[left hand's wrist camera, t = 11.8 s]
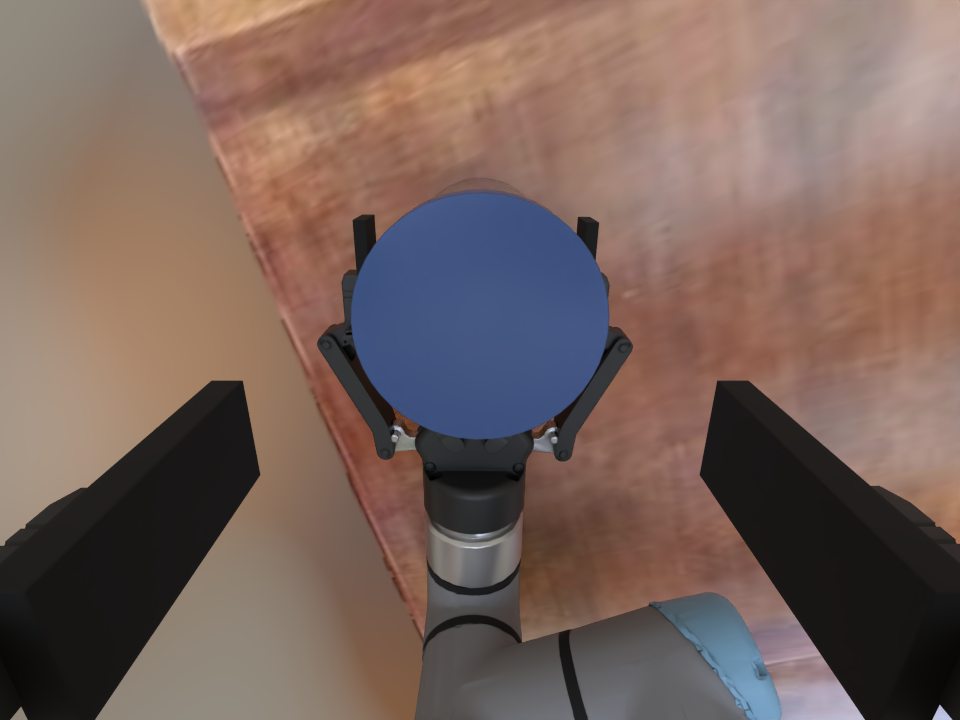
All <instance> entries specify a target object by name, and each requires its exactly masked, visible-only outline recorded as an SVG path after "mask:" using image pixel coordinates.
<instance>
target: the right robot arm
mask: <svg viewBox="0 0 960 720" xmlns="http://www.w3.org/2000/svg"><path fill="white" fill-rule="evenodd" d="M598 228H599V222H597V221H596V220H594V219H592V218H591V217H578V224H577V235H578V236H579V237H580V238H581V240H582V241H583V242H584V244H585V245H586V247H587V248H588V249H589V251H590V252H591V254H592V255H593V257H594V259H595V260H596V249H597V238H598ZM353 230H354V243H355V255H356V268H357V270H349V271H348V272H346V273H345V274H344V277H343V280H342V291H343V303H344V314H345V322H343V323H340V324H338V325H337V324H334V325H331V326H330V327H329V328H328V329H327V330H326V331H325V332H324V334H323V335H322V336H321V337H320V338H319V340H318V342H317V346H318V348H319V350H320V351H321V353H322V354H323V356H324V358H325V359H326V361H327V362H328V364H329V365H330V367H331V368H332V370H333V372H334V373H335V375H336V376H337V378H338V379H339V381H340V382H341V384H342V385H343V387H344V389H345V390H346V392H347V393H348V395H349V396H350V398H351V399H352V401H353V403H354V404H355V406H356V407H357V409H358V410H359V412H360V413H361V415H362V417H363V418H364V420H365V421H366V423H367V424H368V426H369V427H370V429H371V430H372V432H373V436H374V441H375V446H376V451H377V454H378V456H379V457H380V458H382V459H385V460H388V459H390V458H392V457H393V455H394V452H395V451H406V450H417V451H418V453H419V454H420V456H421V458H422V461H423V482H424V505H425V509H426V511H425V535H426V553H427V556H426V558H427V582H428V599H427V615H426V623H425V632H424V641H423V657H422V659H423V665H422V672H421V679H420V686H419V693H418V700H417V707H416V714H415V720H781V715H782V711H781V705H780V701H779V698H778V695H777V692H776V689H775V687H774V684H773V681H772V679H771V676H770V674H769V672H768V671H767V669H766V667H765V664H764V662H763V660H762V657H761V654H760V652H759V649H758V647H757V645H756V643H755V641H754V639H753V637H752V635H751V633H750V631H749V630H748V628H747V626H746V624H745V622H744V620H743V619H742V617H741V615H740V614H739V612H738V611H737V609H736V608H735V607H734V606H733V604H732V603H731V602H730V601H729V600H728V599H726V598H725V597H723V596H721V595H719V594H717V593H711V592H706V593H701V594H696V595H691V596H686V597H682V598H677V599H672V600H667V601H663V602H655V601H654V602H651V603H649V606H646V607H643V608H640V609H637V610H633V611H630V612H627V613H624V614H621V615H617V616H614V617H611V618H608V619H605V620H601V621H598V622H595V623H592V624H588V625H585V626H582V627H579V628H576V629H571V630H566V631H563V632H558V633H555V634H551V635H548V636H544V637H541V638H537V639H533V640H530V641H526V642H523V643H522V635H521V623H520V610H519V580H520V561H521V554H522V530H523V511H522V509H523V506H524V491H525V471H526V461H527V458H528V456H529V455H530V453H531V452H532V451H538V452H548V453H554V455H555V458H556V459H557V460H558V461H567V460H569V459H570V458H571V455H572V451H573V447H574V442H575V438H576V434H577V433H578V431H579V429H580V428H581V426H582V425H583V423H584V422H585V420H586V419H587V417H588V416H589V414H590V413H591V411H592V410H593V408H594V407H595V405H596V404H597V402H598V401H599V399H600V398H601V396H602V395H603V393H604V392H605V390H606V389H607V387H608V386H609V384H610V383H611V381H612V380H613V378H614V377H615V375H616V374H617V372H618V371H619V369H620V368H621V366H622V365H623V363H624V362H625V360H626V359H627V357H628V356H629V354H630V353H631V351H632V349H633V345H632V343H631V341H630V340H629V339H628V337H627V336H626V335H625V334H624V332H623V331H622V330H621V329H620V328H618V327H611V326H609V327H608V335H607V340H606V345H605V349H604V352H603V355H602V357H601V360H600V363H599V365H598V367H597V369H596V371H595V373H594V375H593V377H592V378H591V380H590V381H589V383H588V384H587V386H586V387H585V388H584V390H583V391H582V392H581V393H580V394H579V396H578V397H577V398H576V399H575V400H574V401H573V402H572V403H571V404H570V405H569V406H568V407H566V408H565V409H564V410H563V411H562V412H560V413H559V414H558V415H556V416H555V417H554V421H551V420H550V421H547V423H546V424H545V425H544V427H543V429H542V430H541V431H539V432H537V433H532V430H531V429H530V430H528V431H525V432H522V433H519V434H516V435H512V436H508V437H502V438H495V439H466V438H458V437H453V436H448V435H444V434H441V433H438V432H435V431H432V430H429V429H427V428H425V427H423V426H421V425H420V426H419V428H418V430H417V431H411V430H409V429H408V428H407V427H406V425H405V423H404V422H403V420H401V419H397V420H396V417H395V414H394V411H393V409H392V407H391V405H390V404H389V403H388V402H387V401H386V400H385V399H384V398H383V397H382V396H381V395H380V394H379V392H378V391H377V390H376V388H375V387H374V386H373V384H372V383H371V382H370V380H369V378H368V376H367V375H366V373H365V371H364V369H363V367H362V365H361V362H360V360H359V358H358V355H357V352H356V348H355V345H354V341H353V335H352V327H351V304H352V297H353V291H354V287H355V284H356V280H357V277H358V274H359V272H360V269H361V267H362V265H363V263H364V261H365V259H366V257H367V256H368V254H369V252H370V251H371V249H372V248H373V246H374V245H375V243H376V233H375V218H374V215H361V216H359V217H357V218H356V219H354V220H353ZM601 275H602V277H603V280H604V283H605V287H606V292H607V297H608V294H609V282H608V279H607V277H606V276H605V275H604V274H603V273H602V272H601Z"/></svg>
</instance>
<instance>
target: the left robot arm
mask: <svg viewBox="0 0 960 720" xmlns="http://www.w3.org/2000/svg"><path fill="white" fill-rule="evenodd" d="M259 476H260V471H259V466H258V460H257V455H256V449H255V444H254V439H253V433H252V428H251V423H250V417H249V412H248V407H247V401H246V396H245V391H244V385H243V381H211V382H210V383H208V384H207V385H206V386H205V387H204V388H203V389H202V390H200V391H199V392H198V393H197V394H196V395H195V396H193V397H192V398H191V399H190V400H189V401H188V402H186V403H185V404H184V405H183V406H182V407H181V408H179V409H178V410H177V411H176V412H175V413H174V414H173V415H171V416H170V417H169V418H168V419H167V420H166V421H164V422H163V423H162V424H161V425H160V426H159V427H157V428H156V429H155V430H154V431H153V432H152V433H151V434H149V435H148V436H147V437H146V438H145V439H143V440H142V441H141V442H140V443H139V444H138V445H137V446H135V447H134V448H133V449H132V450H131V451H130V452H128V453H127V454H126V455H125V456H124V457H123V458H121V459H120V460H119V461H118V462H117V463H116V464H114V465H113V466H112V467H111V468H110V469H109V470H107V471H106V472H105V473H104V474H103V475H102V476H101V477H99V478H98V479H97V480H96V481H95V482H94V483H92V484H91V485H90V486H89V487H88V488H80V489H78V490H76V491H74V492H72V493H71V494H69V495H67V496H65V497H63V498H61V499H60V500H58V501H56V502H54V503H52V504H50V505H49V506H48V507H47V508H45V509H44V510H43V511H42V512H40V513H39V514H38V515H37V516H36V517H34V518H33V519H32V520H31V521H30V522H28V523H27V524H26V527H25V529H20V530H19V531H18V532H16V533H15V534H14V535H13V536H11V537H10V538H9V539H8V540H7V541H6V542H5V545H4V546H0V720H10V719H11V718H12V717H13V716H14V714H15V713H16V712H17V711H18V709H19V708H20V707H22V709H23V711H24V713H25V715H26V717H27V719H28V720H95V719H96V717H97V716H98V714H99V713H100V711H101V710H102V708H103V707H104V706H105V704H106V703H107V701H108V700H109V698H110V697H111V695H112V694H113V692H114V691H115V689H116V688H117V686H118V685H119V683H120V682H121V680H122V679H123V677H124V676H125V674H126V673H127V671H128V670H129V669H130V667H131V666H132V664H133V663H134V661H135V660H136V658H137V657H138V655H139V654H140V652H141V651H142V649H143V648H144V646H145V645H146V643H147V642H148V640H149V639H150V637H151V636H152V634H153V633H154V632H155V630H156V629H157V627H158V626H159V624H160V623H161V621H162V620H163V618H164V617H165V615H166V614H167V612H168V611H169V609H170V608H171V606H172V605H173V603H174V602H175V600H176V599H177V597H178V596H179V595H180V593H181V592H182V590H183V589H184V587H185V586H186V584H187V583H188V581H189V580H190V578H191V577H192V575H193V574H194V572H195V571H196V569H197V568H198V566H199V565H200V563H201V562H202V560H203V559H204V557H205V556H206V555H207V553H208V551H209V550H210V549H211V547H212V546H213V544H214V543H215V541H216V540H217V538H218V537H219V535H220V534H221V532H222V531H223V529H224V528H225V526H226V525H227V523H228V522H229V520H230V519H231V518H232V516H233V515H234V513H235V512H236V510H237V509H238V507H239V506H240V504H241V503H242V501H243V500H244V498H245V497H246V495H247V494H248V492H249V491H250V489H251V488H252V486H253V485H254V483H255V482H256V480H257V479H258V477H259ZM700 476H701V478H702V479H703V480H704V482H705V483H706V485H707V486H708V488H709V489H710V491H711V492H712V494H713V495H714V497H715V498H716V500H717V501H718V503H719V504H720V506H721V507H722V509H723V510H724V512H725V513H726V515H727V516H728V518H729V519H730V520H731V522H732V523H733V525H734V526H735V528H736V529H737V531H738V532H739V534H740V535H741V537H742V538H743V540H744V541H745V543H746V544H747V546H748V547H749V549H750V550H751V552H752V553H753V555H754V556H755V557H756V559H757V560H758V562H759V563H760V565H761V566H762V568H763V569H764V571H765V572H766V574H767V575H768V577H769V578H770V580H771V581H772V583H773V584H774V586H775V587H776V589H777V590H778V592H779V593H780V595H781V596H782V597H783V599H784V600H785V602H786V603H787V605H788V606H789V608H790V609H791V611H792V612H793V614H794V615H795V617H796V618H797V620H798V621H799V623H800V624H801V626H802V627H803V629H804V630H805V632H806V633H807V634H808V636H809V637H810V639H811V640H812V642H813V643H814V645H815V646H816V648H817V649H818V651H819V652H820V654H821V655H822V657H823V658H824V660H825V661H826V663H827V664H828V666H829V667H830V669H831V670H832V672H833V673H834V674H835V676H836V677H837V679H838V680H839V682H840V683H841V685H842V686H843V688H844V689H845V691H846V692H847V694H848V695H849V697H850V698H851V700H852V701H853V703H854V704H855V706H856V707H857V709H858V710H859V711H860V713H861V714H862V716H863V717H864V719H865V720H932V719H933V717H934V715H935V713H936V711H937V709H938V707H939V705H941V706H942V708H943V709H944V710H945V711H946V712H947V714H948V715H949V716H950V717H951V718H952V720H960V544H957V543H956V541H955V539H954V538H953V537H952V536H951V535H949V534H948V533H947V532H946V531H944V530H943V529H942V528H941V527H936V526H935V522H934V521H932V520H931V519H930V518H929V517H927V516H926V515H925V514H924V513H923V512H921V511H920V510H919V509H918V508H916V507H915V506H914V505H913V504H912V503H910V502H908V501H906V500H905V499H903V498H901V497H899V496H897V495H895V494H893V493H892V492H890V491H888V490H886V489H884V488H882V487H880V486H870V485H869V484H868V483H866V482H865V481H864V480H863V479H862V478H861V477H859V476H858V475H857V474H856V473H855V472H854V471H853V470H851V469H850V468H849V467H848V466H847V465H846V464H844V463H843V462H842V461H841V460H840V459H839V458H837V457H836V456H835V455H834V454H833V453H832V452H830V451H829V450H828V449H827V448H826V447H825V446H823V445H822V444H821V443H820V442H819V441H818V440H817V439H815V438H814V437H813V436H812V435H811V434H810V433H808V432H807V431H806V430H805V429H804V428H803V427H801V426H800V425H799V424H798V423H797V422H796V421H794V420H793V419H792V418H791V417H790V416H789V415H788V414H786V413H785V412H784V411H783V410H782V409H781V408H779V407H778V406H777V405H776V404H775V403H774V402H772V401H771V400H770V399H769V398H768V397H767V396H765V395H764V394H763V393H762V392H761V391H760V390H758V389H757V388H756V387H755V386H754V385H753V384H752V383H750V382H749V381H717V385H716V391H715V396H714V401H713V407H712V412H711V417H710V423H709V428H708V433H707V439H706V444H705V449H704V455H703V460H702V465H701V471H700Z"/></svg>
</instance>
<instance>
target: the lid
mask: <svg viewBox="0 0 960 720" xmlns="http://www.w3.org/2000/svg"><path fill="white" fill-rule="evenodd" d="M351 327H352V335H353V341H354V345H355V348H356V352H357V355H358V358H359V360H360V362H361V365H362V367H363V369H364V371H365V373H366V375H367V376H368V378H369V380H370V382H371V383H372V384H373V386H374V387H375V388H376V390H377V391H378V392H379V394H380V395H381V396H382V397H383V398H384V399H385V400H386V401H387V402H388V403H389V404H390V405H391V406H392V407H393V408H395V409H396V410H397V411H398V412H400V413H401V414H402V415H404V416H405V417H407V418H408V419H410V420H412V421H413V422H415V423H416V424H419V425H421V426H423V427H425V428H427V429H429V430H432V431H435V432H438V433H441V434H444V435H448V436H453V437H458V438H466V439H495V438H502V437H508V436H512V435H516V434H519V433H522V432H525V431H528V430H530V429H533V428H535V427H537V426H539V425H541V424H543V423H545V422H547V421H549V420H550V419H552V418H553V417H555V416H556V415H558V414H559V413H560V412H562V411H563V410H564V409H565V408H566V407H568V406H569V405H570V404H571V403H572V402H573V401H574V400H575V399H576V398H577V397H578V396H579V394H580V393H581V392H582V391H583V390H584V388H585V387H586V386H587V384H588V383H589V381H590V380H591V378H592V377H593V375H594V373H595V371H596V369H597V367H598V365H599V363H600V360H601V357H602V355H603V352H604V349H605V345H606V340H607V335H608V327H609V305H608V297H607V292H606V287H605V283H604V280H603V277H602V275H601V272H600V269H599V267H598V265H597V263H596V261H595V259H594V257H593V255H592V254H591V252H590V251H589V249H588V248H587V247H586V245H585V244H584V242H583V241H582V240H581V238H580V237H579V236H578V235H577V234H576V233H575V232H574V231H573V230H572V229H571V228H570V227H569V226H568V225H567V224H566V223H564V222H563V221H562V220H561V219H560V218H558V217H557V216H556V215H555V214H553V213H552V212H551V211H549V210H548V209H546V208H545V207H543V206H541V205H539V204H538V203H536V202H534V201H532V200H529V199H527V198H524V197H522V196H520V195H516V194H512V193H508V192H504V191H498V190H489V189H468V190H462V191H456V192H451V193H448V194H444V195H441V196H438V197H435V198H433V199H431V200H429V201H426V202H424V203H422V204H420V205H419V206H417V207H415V208H414V209H412V210H411V211H409V212H408V213H406V214H405V215H404V216H403V217H402V218H401V219H399V220H398V221H397V222H396V223H395V224H394V225H393V226H391V227H390V228H389V229H388V230H387V231H386V232H385V233H384V234H383V235H382V236H381V238H380V239H379V240H378V241H377V242H376V243H375V245H374V246H373V248H372V249H371V251H370V252H369V254H368V256H367V257H366V259H365V261H364V263H363V265H362V267H361V269H360V272H359V274H358V277H357V280H356V284H355V287H354V291H353V297H352V304H351Z"/></svg>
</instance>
